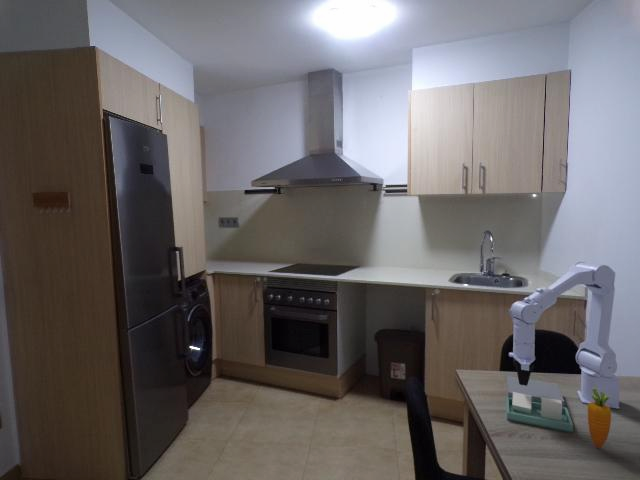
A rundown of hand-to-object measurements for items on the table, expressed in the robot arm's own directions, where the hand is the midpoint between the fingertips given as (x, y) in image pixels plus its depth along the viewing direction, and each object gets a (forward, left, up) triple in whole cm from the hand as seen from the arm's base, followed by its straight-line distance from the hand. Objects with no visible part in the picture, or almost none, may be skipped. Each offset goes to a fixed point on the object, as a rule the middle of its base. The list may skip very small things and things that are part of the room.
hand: (523, 384), depth 114 cm
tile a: (-7, +3, -4) cm, 9 cm away
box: (-3, +5, -7) cm, 9 cm away
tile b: (0, +2, -6) cm, 6 cm away
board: (-3, -7, -7) cm, 11 cm away
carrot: (-16, +15, -7) cm, 23 cm away
